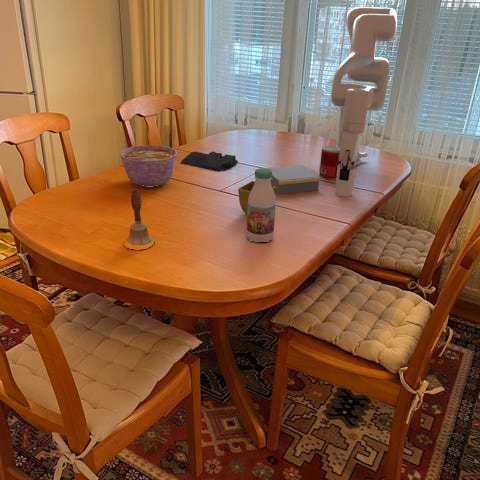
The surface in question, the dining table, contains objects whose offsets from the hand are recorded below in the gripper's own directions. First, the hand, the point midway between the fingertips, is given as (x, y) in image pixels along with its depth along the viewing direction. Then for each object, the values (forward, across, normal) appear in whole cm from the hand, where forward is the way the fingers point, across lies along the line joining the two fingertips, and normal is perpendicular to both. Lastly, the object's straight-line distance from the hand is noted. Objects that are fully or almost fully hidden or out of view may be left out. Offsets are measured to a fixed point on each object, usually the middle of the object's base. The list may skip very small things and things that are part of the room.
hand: (345, 176), depth 159 cm
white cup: (+7, -1, 0) cm, 7 cm away
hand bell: (+8, +62, -45) cm, 77 cm away
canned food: (+6, -18, -9) cm, 21 cm away
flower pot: (+8, +30, -23) cm, 38 cm away
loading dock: (+7, -1, -20) cm, 21 cm away
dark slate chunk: (+7, -12, -58) cm, 59 cm away
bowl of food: (+7, +20, -67) cm, 70 cm away
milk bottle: (+8, +45, -16) cm, 48 cm away
